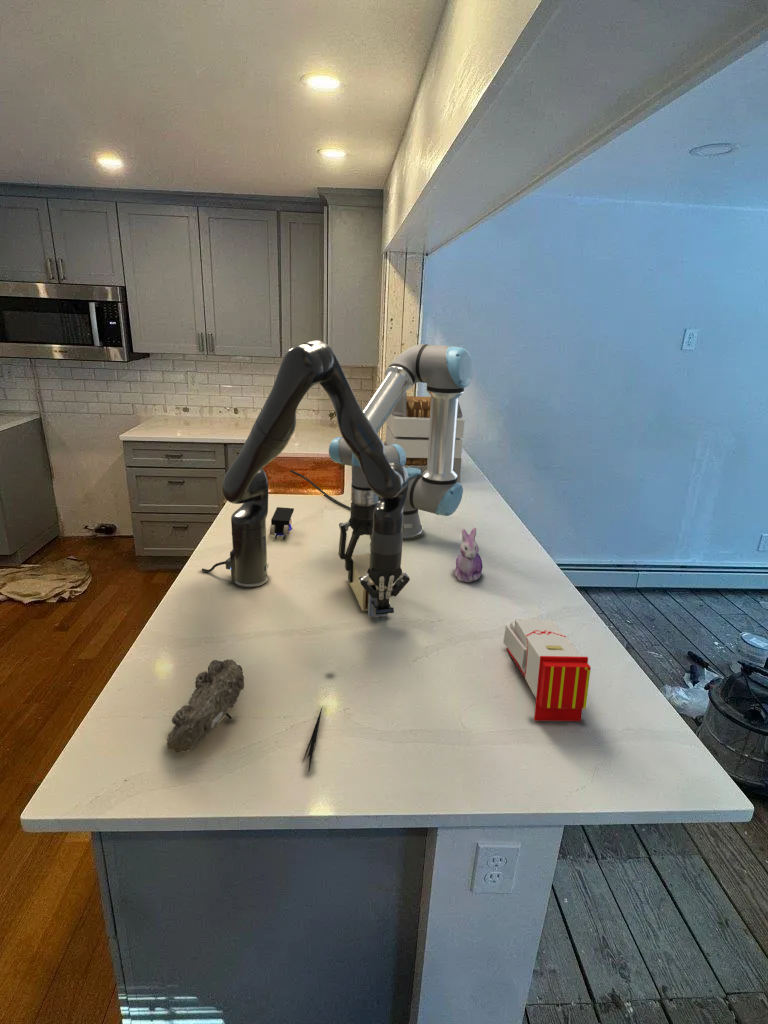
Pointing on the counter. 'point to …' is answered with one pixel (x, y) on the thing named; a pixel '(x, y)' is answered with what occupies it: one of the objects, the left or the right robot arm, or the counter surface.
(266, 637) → the counter surface
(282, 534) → the figurine character
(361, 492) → the right robot arm
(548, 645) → the toy
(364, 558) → the cabinet
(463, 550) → the figurine
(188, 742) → the fossil
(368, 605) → the drawer
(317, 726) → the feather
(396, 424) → the grey slatted crate
